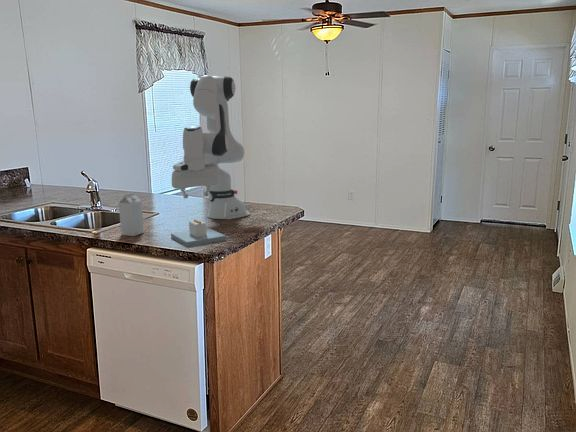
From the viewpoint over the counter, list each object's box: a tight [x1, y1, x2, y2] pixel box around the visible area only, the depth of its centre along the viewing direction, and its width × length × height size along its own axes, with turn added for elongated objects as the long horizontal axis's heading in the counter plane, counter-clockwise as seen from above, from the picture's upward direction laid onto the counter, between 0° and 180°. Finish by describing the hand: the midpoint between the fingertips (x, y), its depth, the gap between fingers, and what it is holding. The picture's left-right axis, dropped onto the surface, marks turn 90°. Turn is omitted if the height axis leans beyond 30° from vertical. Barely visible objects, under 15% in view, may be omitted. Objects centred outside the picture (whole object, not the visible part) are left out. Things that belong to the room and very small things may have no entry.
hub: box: [170, 227, 227, 248], centre depth 222 cm, size 18×18×5 cm
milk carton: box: [118, 191, 145, 237], centre depth 231 cm, size 7×7×19 cm
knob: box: [188, 218, 207, 237], centre depth 222 cm, size 5×7×6 cm
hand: (196, 196), depth 219 cm, fingers open, 8 cm apart
